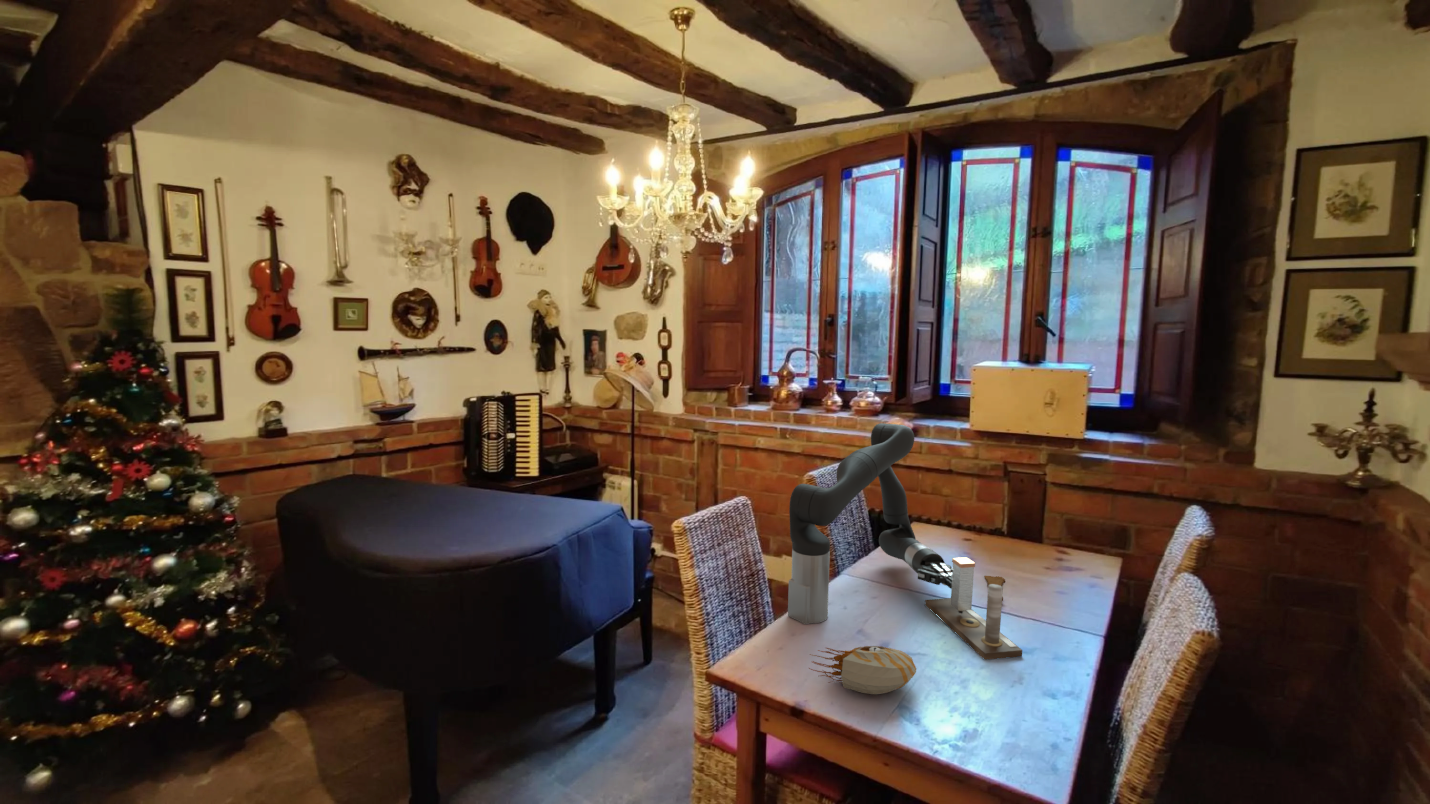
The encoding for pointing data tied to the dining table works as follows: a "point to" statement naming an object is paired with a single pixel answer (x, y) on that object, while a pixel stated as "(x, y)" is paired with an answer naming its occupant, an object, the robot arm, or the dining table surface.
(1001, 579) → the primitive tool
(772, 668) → the dining table surface
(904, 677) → the nautilus
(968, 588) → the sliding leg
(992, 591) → the wooden base plate
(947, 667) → the dining table surface
